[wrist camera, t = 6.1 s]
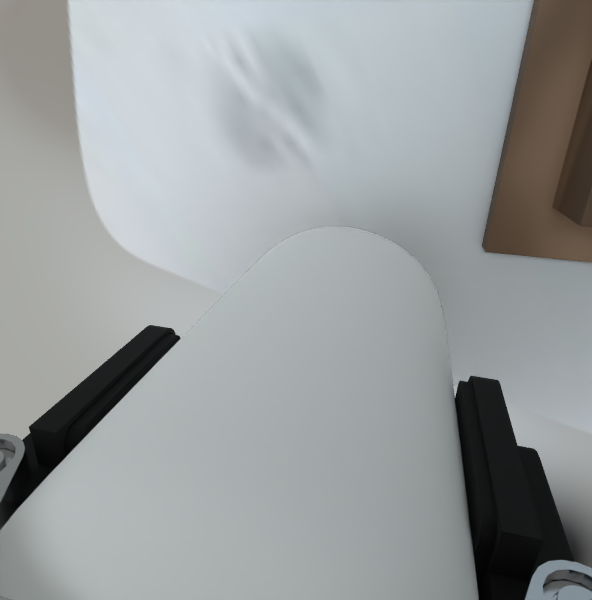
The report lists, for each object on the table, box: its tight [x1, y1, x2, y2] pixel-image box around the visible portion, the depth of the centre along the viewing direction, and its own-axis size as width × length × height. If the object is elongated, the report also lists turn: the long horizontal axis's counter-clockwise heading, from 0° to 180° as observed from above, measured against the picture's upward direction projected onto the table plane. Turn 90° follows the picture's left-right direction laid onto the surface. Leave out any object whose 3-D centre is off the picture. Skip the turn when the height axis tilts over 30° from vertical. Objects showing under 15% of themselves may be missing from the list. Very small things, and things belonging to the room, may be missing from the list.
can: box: [0, 226, 479, 600], centre depth 10 cm, size 6×6×12 cm
